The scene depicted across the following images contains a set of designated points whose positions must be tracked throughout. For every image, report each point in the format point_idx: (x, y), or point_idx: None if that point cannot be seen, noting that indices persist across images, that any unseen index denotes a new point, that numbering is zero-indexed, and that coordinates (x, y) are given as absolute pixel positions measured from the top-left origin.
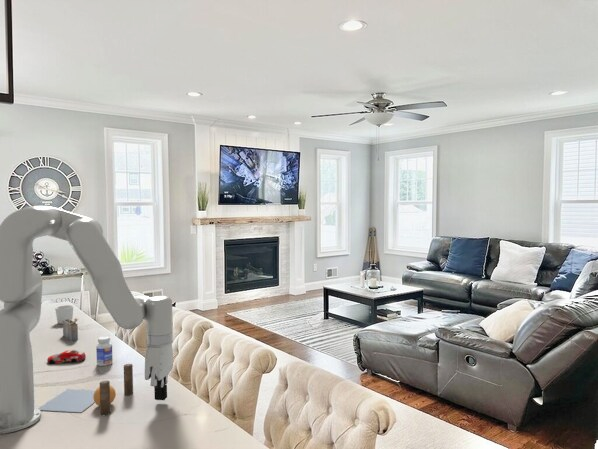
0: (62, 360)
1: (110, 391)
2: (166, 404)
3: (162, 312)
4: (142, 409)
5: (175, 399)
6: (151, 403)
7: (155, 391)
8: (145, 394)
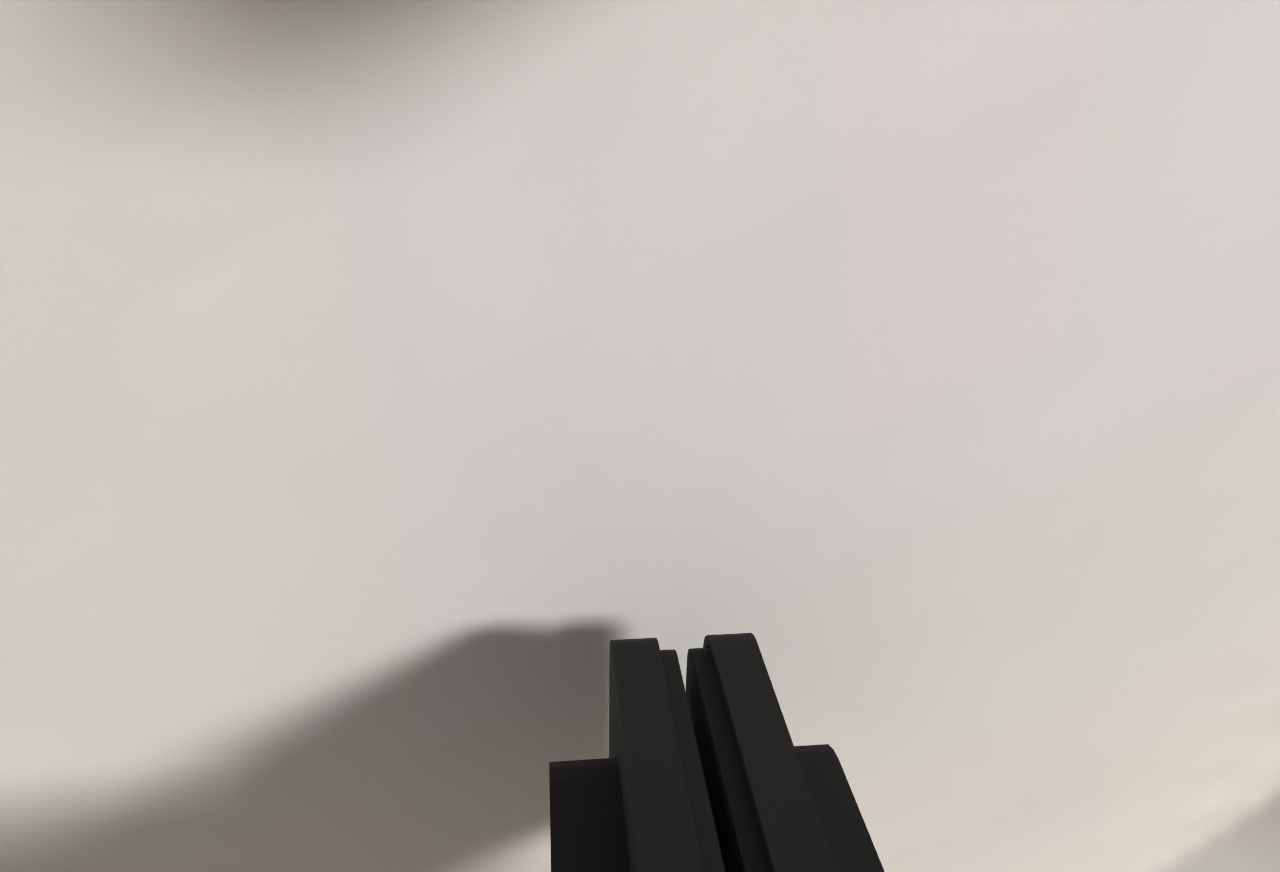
0: None
1: None
2: None
3: None
4: (275, 418)
5: None
6: (625, 478)
7: (628, 834)
8: (1173, 58)
